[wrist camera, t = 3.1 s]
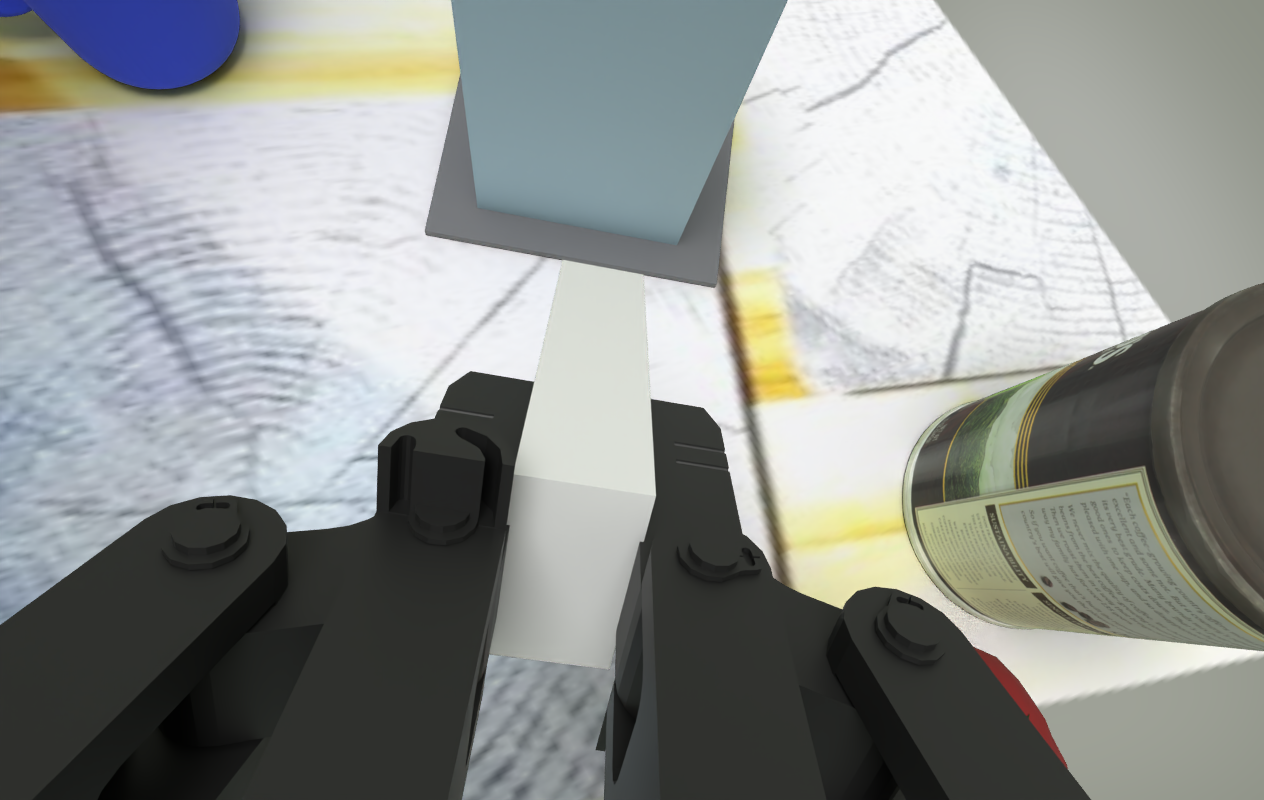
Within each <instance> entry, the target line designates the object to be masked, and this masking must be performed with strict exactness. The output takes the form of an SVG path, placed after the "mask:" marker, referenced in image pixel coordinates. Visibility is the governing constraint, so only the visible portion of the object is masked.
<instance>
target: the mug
mask: <svg viewBox="0 0 1264 800" xmlns="http://www.w3.org/2000/svg"><path fill="white" fill-rule="evenodd" d="M32 10H33V11H34V12H35V13H36V14H37V15H38V16H39V17H40V18H41V19H42V20H43V21H44V22H45V23H46V24H47V25H48V26H49V27H50V28H51V29H52V30H53V31H54V32H55V33H56V34H57V35H58V36H59V37H60V38H61V39H62V40H63V41H64V42H65V43H66V44H67V45H68V46H69V47H70V48H71V49H72V50H73V51H74V52H75V53H77V54H78V55H79V56H80V57H81V58H82V59H83V60H84V61H86V62H87V63H88V64H90V65H91V66H92V67H94V68H95V69H97V70H98V71H100V72H101V73H103V74H105V75H107V76H109V77H110V78H112V79H115V80H117V81H119V82H122V83H124V84H128V85H131V86H135V87H140V88H147V89H172V88H177V87H183V86H186V85H189V84H192V83H195V82H197V81H199V80H202V79H204V78H205V77H207V76H208V75H210V74H212V73H213V72H215V71H216V70H217V69H218V68H219V67H220V66H221V65H222V64H223V63H224V62H225V61H226V60H227V58H228V57H229V55H230V54H231V52H232V51H233V49H234V46H235V44H236V41H237V38H238V34H239V27H240V16H239V7H238V2H237V0H0V17H13V16H18V15H22V14H25V13H27V12H30V11H32Z"/></svg>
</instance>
